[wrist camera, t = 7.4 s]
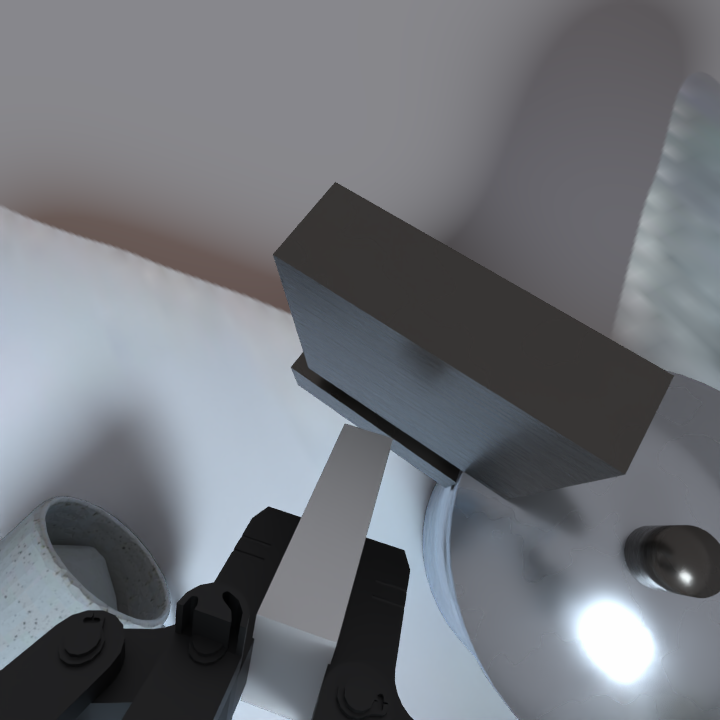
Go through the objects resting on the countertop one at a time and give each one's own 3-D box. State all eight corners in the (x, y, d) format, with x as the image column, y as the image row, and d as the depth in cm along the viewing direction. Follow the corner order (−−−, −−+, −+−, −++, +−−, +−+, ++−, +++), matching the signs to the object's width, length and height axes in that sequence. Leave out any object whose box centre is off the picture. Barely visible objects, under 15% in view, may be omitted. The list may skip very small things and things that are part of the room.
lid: (887, 504, 18) (1375, 479, 9) (761, 909, 14) (1388, 1497, 5) (418, 234, 21) (455, 41, 13) (220, 495, 18) (93, 463, 9)
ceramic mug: (-26, 613, 25) (-184, 652, 17) (107, 496, 27) (14, 486, 19) (96, 793, 22) (-28, 923, 15) (231, 650, 24) (180, 705, 17)
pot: (252, 499, 27) (202, 485, 18) (378, 318, 30) (385, 235, 22) (692, 809, 22) (901, 985, 14) (778, 552, 26) (984, 563, 17)
